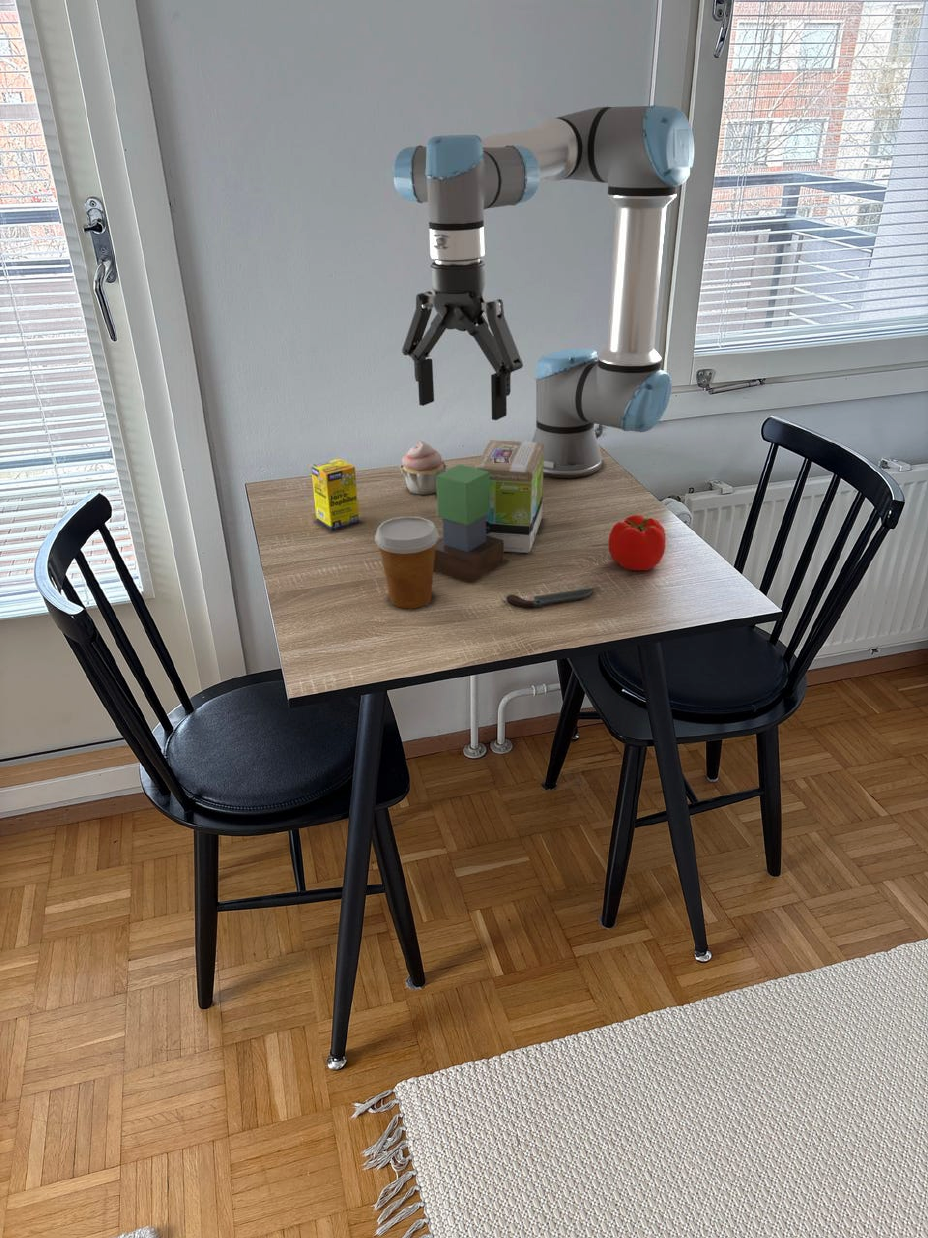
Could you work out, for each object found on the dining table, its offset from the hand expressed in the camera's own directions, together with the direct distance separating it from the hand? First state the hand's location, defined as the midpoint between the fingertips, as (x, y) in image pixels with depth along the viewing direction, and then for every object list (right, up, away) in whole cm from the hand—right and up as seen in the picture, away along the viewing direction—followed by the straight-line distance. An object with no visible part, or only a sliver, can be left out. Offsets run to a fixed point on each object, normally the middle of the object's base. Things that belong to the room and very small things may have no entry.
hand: (462, 410), depth 140 cm
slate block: (0, -19, +11) cm, 22 cm away
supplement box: (-23, -14, +30) cm, 40 cm away
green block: (0, -15, +9) cm, 17 cm away
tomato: (+29, -23, +12) cm, 38 cm away
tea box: (+8, -17, +24) cm, 30 cm away
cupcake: (-8, -6, +43) cm, 44 cm away
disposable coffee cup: (-8, -28, +4) cm, 30 cm away
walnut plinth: (+1, -23, +13) cm, 26 cm away
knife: (+14, -28, +3) cm, 32 cm away
